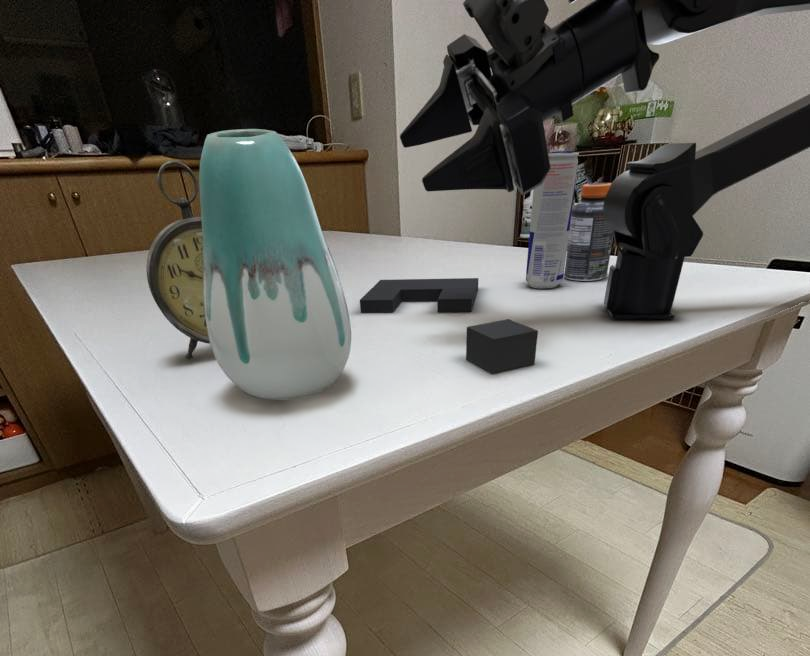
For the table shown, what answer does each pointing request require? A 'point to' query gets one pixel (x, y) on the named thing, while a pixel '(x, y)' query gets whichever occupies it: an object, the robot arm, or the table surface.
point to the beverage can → (551, 222)
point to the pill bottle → (589, 236)
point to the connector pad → (501, 345)
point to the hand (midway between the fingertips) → (412, 162)
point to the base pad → (421, 294)
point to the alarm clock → (179, 269)
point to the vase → (268, 270)
